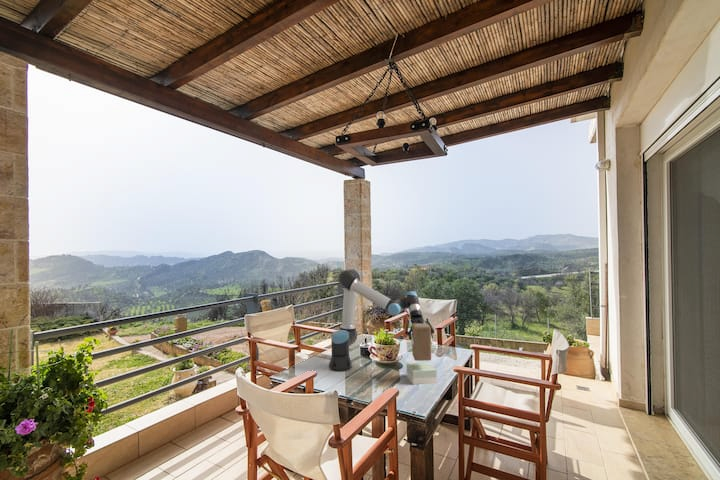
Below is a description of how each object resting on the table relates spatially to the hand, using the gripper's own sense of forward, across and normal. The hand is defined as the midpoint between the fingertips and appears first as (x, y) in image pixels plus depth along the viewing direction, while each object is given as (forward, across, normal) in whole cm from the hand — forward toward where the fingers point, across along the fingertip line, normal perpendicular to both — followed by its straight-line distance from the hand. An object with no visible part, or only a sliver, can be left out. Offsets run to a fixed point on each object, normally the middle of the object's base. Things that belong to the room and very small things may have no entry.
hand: (422, 344), depth 193 cm
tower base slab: (+14, 0, -18) cm, 23 cm away
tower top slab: (+11, 0, -15) cm, 19 cm away
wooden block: (+5, 0, -8) cm, 10 cm away
